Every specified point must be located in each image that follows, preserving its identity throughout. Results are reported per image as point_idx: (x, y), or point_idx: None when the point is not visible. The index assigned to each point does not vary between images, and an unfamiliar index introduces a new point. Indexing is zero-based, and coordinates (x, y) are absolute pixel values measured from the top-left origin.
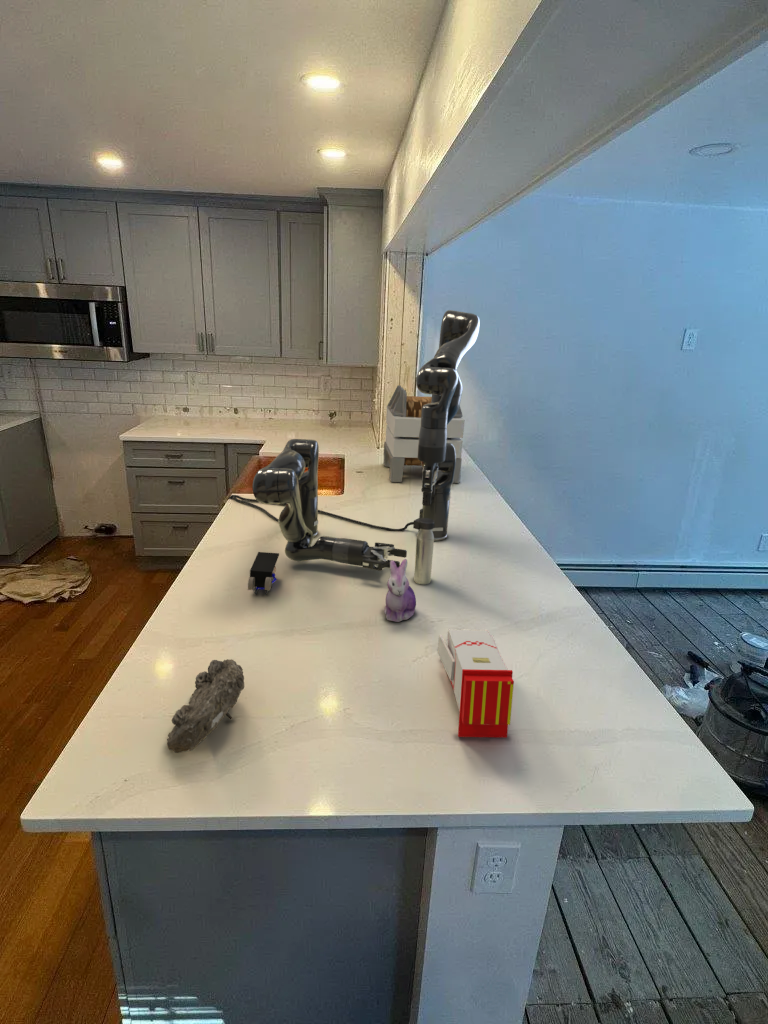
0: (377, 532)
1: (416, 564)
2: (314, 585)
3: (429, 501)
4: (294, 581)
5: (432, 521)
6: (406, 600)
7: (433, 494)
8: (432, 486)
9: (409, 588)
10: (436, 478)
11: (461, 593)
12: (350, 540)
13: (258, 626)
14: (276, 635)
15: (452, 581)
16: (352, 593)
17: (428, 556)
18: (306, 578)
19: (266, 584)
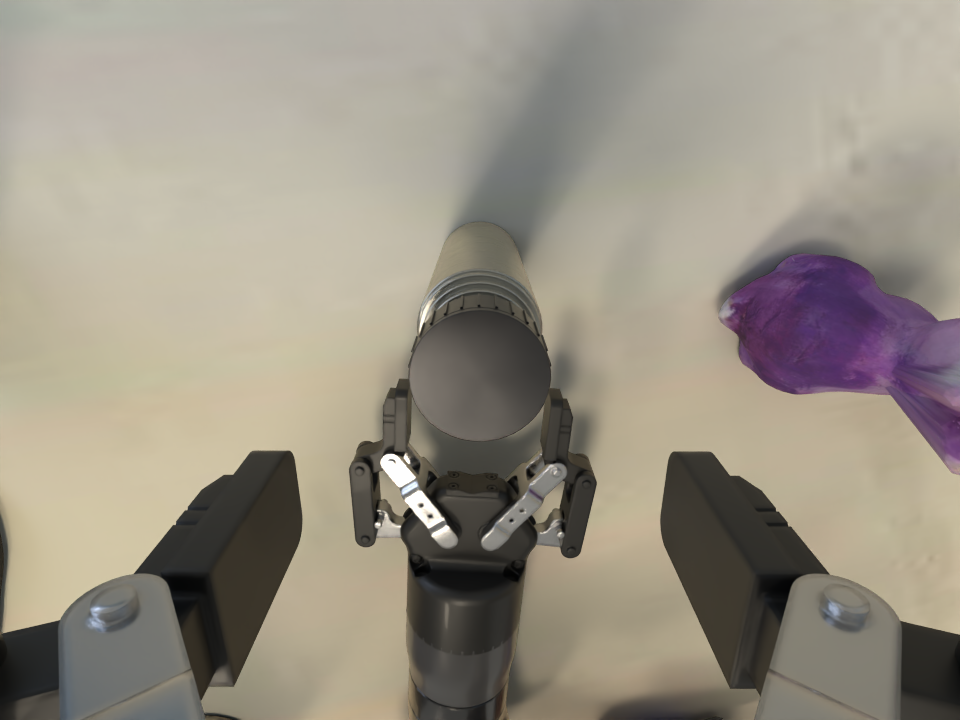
0: (40, 531)
1: None
2: (621, 620)
3: (726, 490)
4: (606, 676)
5: (482, 326)
6: (914, 303)
7: (281, 466)
8: (233, 573)
9: (857, 309)
10: (194, 681)
11: (565, 46)
12: (466, 658)
13: None
14: (952, 626)
15: (442, 108)
16: (658, 500)
17: (521, 266)
18: (575, 653)
19: None
